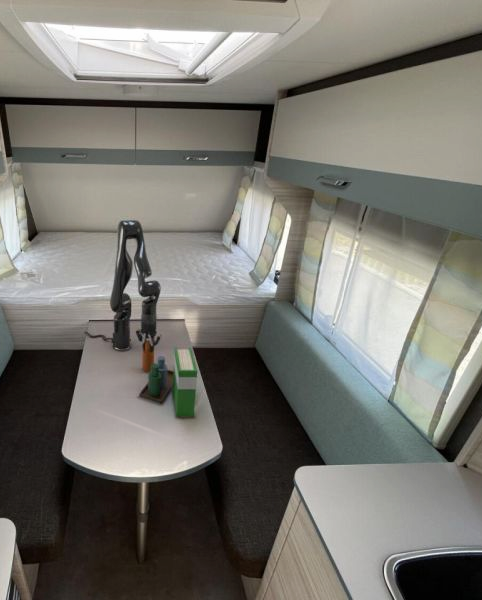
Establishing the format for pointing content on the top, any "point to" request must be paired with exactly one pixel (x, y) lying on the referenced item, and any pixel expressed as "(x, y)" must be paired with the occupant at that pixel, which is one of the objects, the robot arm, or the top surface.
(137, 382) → the top surface
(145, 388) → the tray
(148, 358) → the amber bottle
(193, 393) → the hardback book
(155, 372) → the green bottle
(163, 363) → the slate bottle
